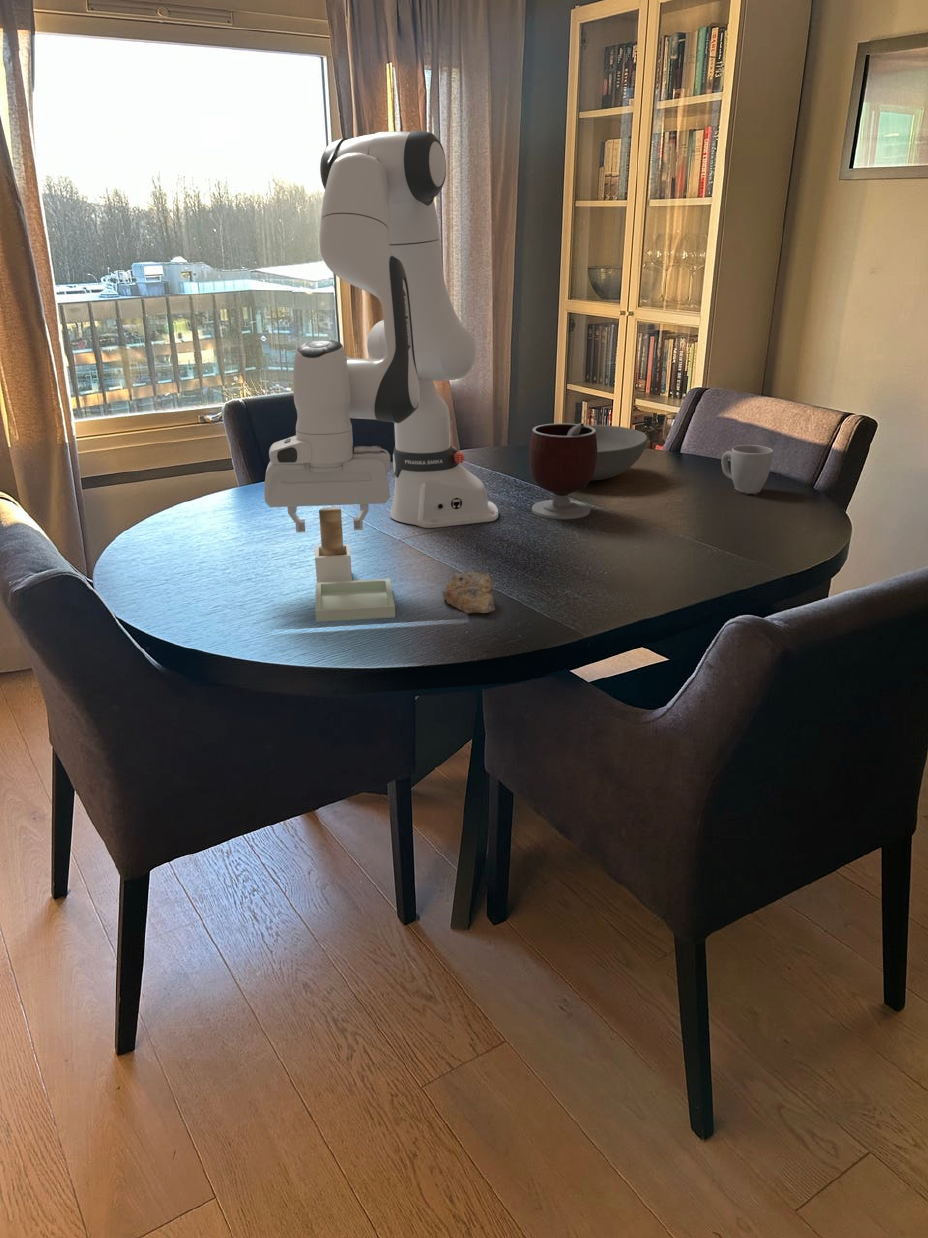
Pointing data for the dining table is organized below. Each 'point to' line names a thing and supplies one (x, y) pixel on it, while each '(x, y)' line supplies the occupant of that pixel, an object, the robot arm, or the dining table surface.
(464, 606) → the rock
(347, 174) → the robot arm
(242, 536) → the dining table surface
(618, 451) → the bowl
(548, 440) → the mate gourd
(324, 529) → the dowel
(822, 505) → the dining table surface
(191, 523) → the dining table surface
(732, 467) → the mug
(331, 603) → the tray
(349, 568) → the pen cup
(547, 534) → the dining table surface
